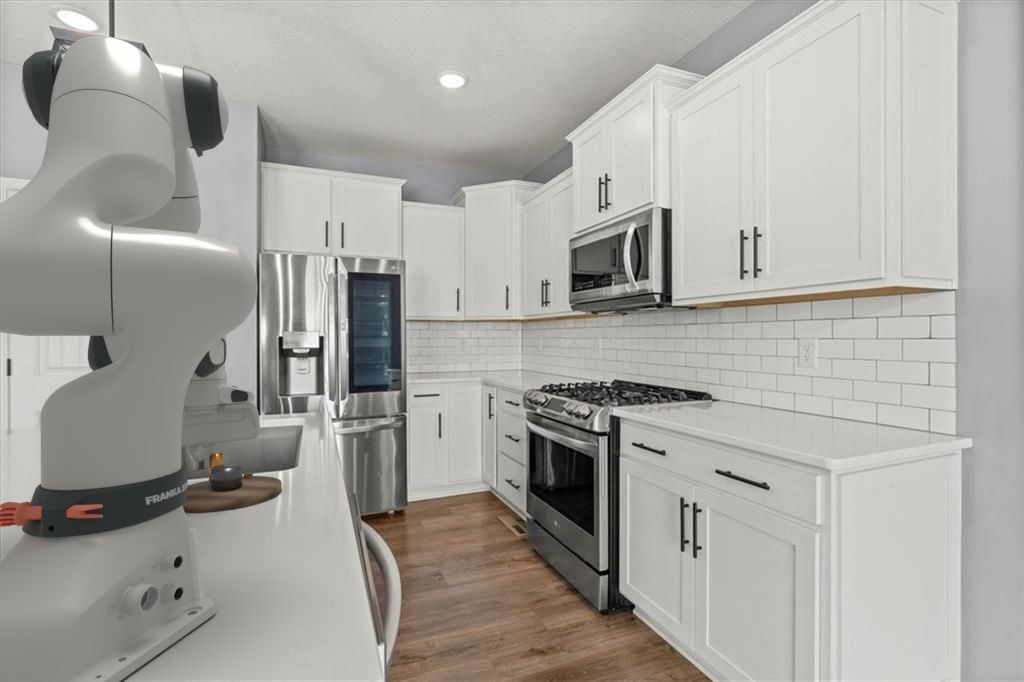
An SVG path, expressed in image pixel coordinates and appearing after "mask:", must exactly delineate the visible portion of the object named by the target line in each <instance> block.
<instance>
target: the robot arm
mask: <svg viewBox="0 0 1024 682" xmlns="http://www.w3.org/2000/svg"><path fill="white" fill-rule="evenodd" d="M218 83H219V82H218V81H217V80H216V79H215V78H214V77H213V76H212V75H211V74H210V73H209V72H206V71H204V70H201V69H198V68H195V67H191V66H188V65H184V66H183V67H180V66H176V65H174V64H173V65H172V64H169V63H164V62H159V61H154V60H152V59H151V58H150V56H148V55H147V54H146V53H145V52H143V50H141V49H140V48H138V47H136V46H135V45H134V44H131V43H130V42H127V41H125V40H122V39H121V38H116V37H112V36H107V35H89V36H85V37H82V38H80V39H78V40H76V41H74V42H73V43H72V44H71V45H70V46H69V47H68V48H67V50H66V51H65V50H64V49H48V50H40V51H36V52H34V53H32V54H30V56H29V57H28V58H26V59H25V60H24V62H23V65H22V75H21V88H22V95H23V97H24V100H25V102H26V105H27V107H28V108H29V110H30V111H31V114H32V116H33V117H34V120H35V121H36V122H37V123H38V124H39V126H41V127H42V128H43V129H45V130H46V131H47V139H46V144H45V145H46V146H45V149H44V150H45V151H44V155H43V158H42V162H41V165H40V168H39V169H38V170H37V173H36V174H35V175H34V176H33V178H32V179H30V181H28V183H27V184H26V185H25V186H24V187H23V188H21V189H20V190H19V191H17V192H16V193H15V194H13V195H11V196H10V197H9V198H7V199H5V200H3V201H1V202H0V333H3V334H11V335H18V336H26V337H34V336H35V337H38V336H39V337H40V336H41V337H42V336H43V337H44V336H45V337H51V336H52V337H57V336H58V337H68V336H70V337H72V336H74V337H79V336H80V337H83V336H84V337H89V339H88V340H89V341H88V348H87V361H88V362H87V363H88V365H89V367H90V369H91V370H92V371H90V372H89V373H86V374H84V375H81V376H79V377H77V378H74V379H73V380H70V381H69V382H67V383H65V384H63V385H61V386H60V387H58V388H57V389H56V390H54V392H52V393H51V394H50V395H49V396H48V398H47V399H46V401H45V402H44V404H43V406H42V408H41V410H40V415H39V418H40V484H38V485H37V486H36V488H35V489H34V492H33V494H32V497H31V500H30V501H23V502H16V501H15V502H14V501H13V502H12V501H6V502H3V503H1V504H0V528H3V527H4V528H6V527H11V526H17V527H21V531H22V532H23V535H22V537H20V539H19V540H18V541H17V543H16V544H15V545H13V547H12V548H11V549H10V550H9V551H8V552H7V553H6V555H5V556H3V558H2V559H1V560H0V682H121V681H122V680H123V679H125V678H127V677H128V676H129V675H131V674H132V673H134V672H135V671H137V670H138V669H140V668H141V667H143V666H144V665H145V664H146V663H148V662H149V661H150V660H152V659H153V658H155V657H156V656H157V655H159V654H161V653H162V652H163V651H165V650H167V648H169V647H171V646H172V645H173V644H175V643H176V642H178V641H179V640H181V639H182V638H183V637H185V636H186V635H188V633H190V632H191V631H193V630H195V629H196V628H197V627H199V626H200V625H202V624H203V623H204V622H206V621H207V620H209V619H210V618H212V617H213V616H214V615H215V614H216V612H217V610H216V608H217V607H216V602H215V600H214V599H212V598H210V597H209V596H207V595H205V588H204V578H203V569H202V560H201V553H200V543H199V534H198V531H197V529H196V528H195V526H194V525H192V523H191V521H190V520H189V518H188V516H187V514H186V512H185V511H184V509H183V504H184V503H185V502H186V500H187V487H188V485H189V484H188V483H189V482H188V480H189V479H188V478H187V469H186V467H184V466H183V465H182V448H185V449H186V453H187V454H188V455H189V458H191V460H192V462H193V467H192V468H193V470H194V471H201V470H207V469H208V460H209V457H210V455H211V454H212V452H214V450H215V444H222V443H232V442H240V441H241V442H242V441H248V440H256V439H257V438H258V437H259V435H260V434H261V423H260V416H259V410H258V408H257V405H255V404H254V403H252V402H253V401H254V400H255V393H254V392H253V391H251V390H249V389H245V388H239V387H238V386H236V385H235V386H234V385H229V384H228V376H227V372H226V368H225V366H226V365H225V363H226V360H227V357H228V345H227V335H228V334H230V333H231V332H233V331H234V330H236V329H237V328H239V327H240V325H242V324H243V323H244V322H245V321H246V319H247V318H248V317H249V316H250V314H251V313H252V311H253V309H254V306H255V304H256V301H257V296H258V288H259V287H258V278H257V274H256V271H255V269H254V268H255V267H254V266H253V264H252V262H251V260H250V259H249V258H248V256H247V255H246V253H245V252H244V251H243V250H242V249H241V248H240V247H239V246H238V245H236V244H235V243H230V242H227V241H224V240H220V239H216V238H214V237H209V236H205V235H201V234H198V233H199V231H200V228H201V217H202V215H201V201H200V197H199V195H200V194H199V190H198V189H199V188H198V182H197V177H196V172H195V168H194V164H193V160H192V157H191V153H190V151H189V149H194V151H195V153H196V155H197V157H198V158H199V157H202V156H204V152H205V151H208V150H212V149H215V148H216V147H218V146H219V144H220V143H222V142H223V141H224V140H225V138H224V137H225V134H226V132H227V129H228V127H229V126H228V125H229V117H230V115H229V107H228V103H227V101H226V98H225V95H224V94H223V92H222V90H221V89H220V87H219V84H218ZM199 446H202V449H203V450H204V452H203V454H202V456H201V458H199V457H198V456H197V454H195V453H197V452H199V451H198V448H199Z"/></svg>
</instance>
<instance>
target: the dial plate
mask: <svg viewBox="0 0 1024 682" xmlns="http://www.w3.org/2000/svg"><path fill="white" fill-rule="evenodd" d="M282 483H283V482H282V481H281V480H280V479H279V478H276V477H273V476H267V475H264V476H263V475H254V472H244V473H243V485H242V486H241V487H239V488H235V489H230V490H222V491H216V490H212V489H211V482H209V480H205V481H204V480H203V481H199V482H195V483H192V484H191V483H190V484H188V487H187V500H186V502H185V503H184V504H183V509H184V511H185V513H189V514H190V513H195V514H196V513H197V514H199V513H213V512H223V511H230V510H231V511H232V510H236V509H241V508H247V507H250V506H255V505H257V504H261V503H264V502H267V501H271V500H272V499H275V498H276V497H277V496H279V495H280V494H281V493H282V490H283V489H282V486H283V485H282Z"/></svg>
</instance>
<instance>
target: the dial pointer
mask: <svg viewBox="0 0 1024 682" xmlns="http://www.w3.org/2000/svg"><path fill="white" fill-rule="evenodd" d="M243 476H244V474H243V464H241V463H227V464H226V463H225V464H224V452H223V451H213V452H212V454H211V455H210V457H209V458H208V481H209V482H211V489H212V490H216V491H222V490H230V489H235V488H239V487H241V486H242V485H243Z"/></svg>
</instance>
